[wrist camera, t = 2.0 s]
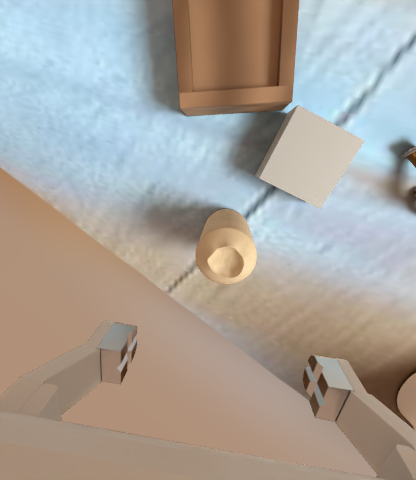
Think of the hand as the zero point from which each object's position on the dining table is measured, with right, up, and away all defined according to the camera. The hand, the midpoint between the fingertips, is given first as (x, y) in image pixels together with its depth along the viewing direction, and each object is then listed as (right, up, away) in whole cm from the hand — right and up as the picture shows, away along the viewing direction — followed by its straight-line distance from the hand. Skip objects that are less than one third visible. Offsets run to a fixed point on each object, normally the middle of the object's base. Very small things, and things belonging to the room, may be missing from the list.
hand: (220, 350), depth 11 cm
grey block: (+9, +14, +15) cm, 22 cm away
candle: (+2, +7, +18) cm, 19 cm away
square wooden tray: (+2, +23, +12) cm, 26 cm away
